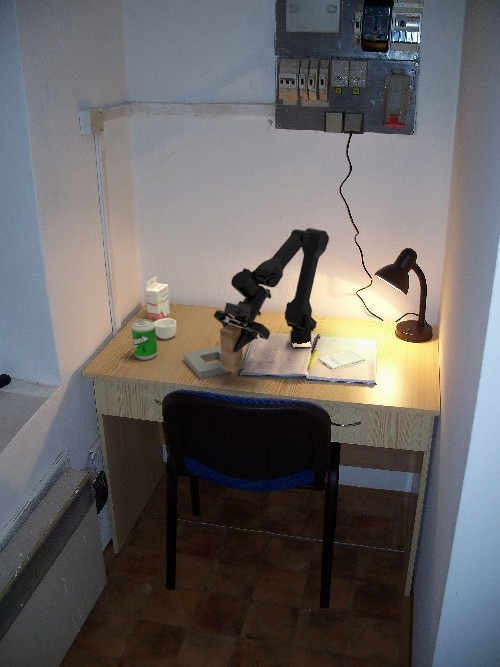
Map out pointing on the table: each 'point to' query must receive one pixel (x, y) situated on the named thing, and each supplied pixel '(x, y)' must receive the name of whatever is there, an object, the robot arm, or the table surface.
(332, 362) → the external hard drive
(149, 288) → the milk carton
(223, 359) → the walnut pillar
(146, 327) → the soda can
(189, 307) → the table surface
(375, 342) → the table surface
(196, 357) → the socket base
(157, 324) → the teacup
